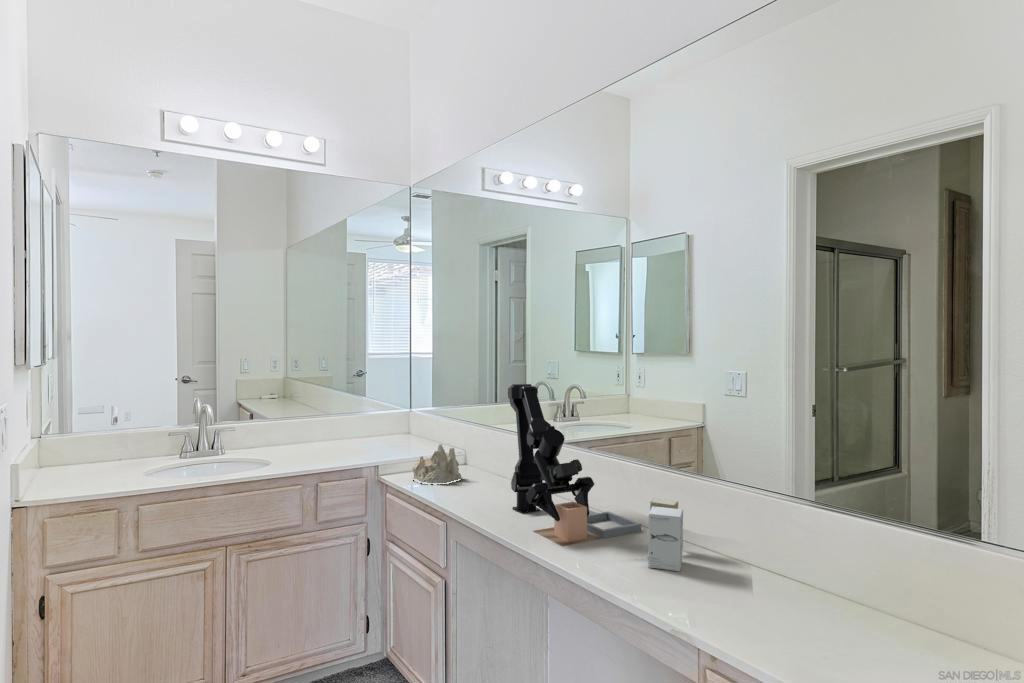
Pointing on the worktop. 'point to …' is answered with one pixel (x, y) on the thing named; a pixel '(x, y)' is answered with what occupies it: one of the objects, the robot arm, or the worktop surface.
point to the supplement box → (665, 538)
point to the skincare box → (663, 503)
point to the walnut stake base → (550, 535)
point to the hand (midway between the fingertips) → (573, 518)
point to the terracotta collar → (571, 521)
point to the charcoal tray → (627, 528)
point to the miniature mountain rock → (437, 467)
